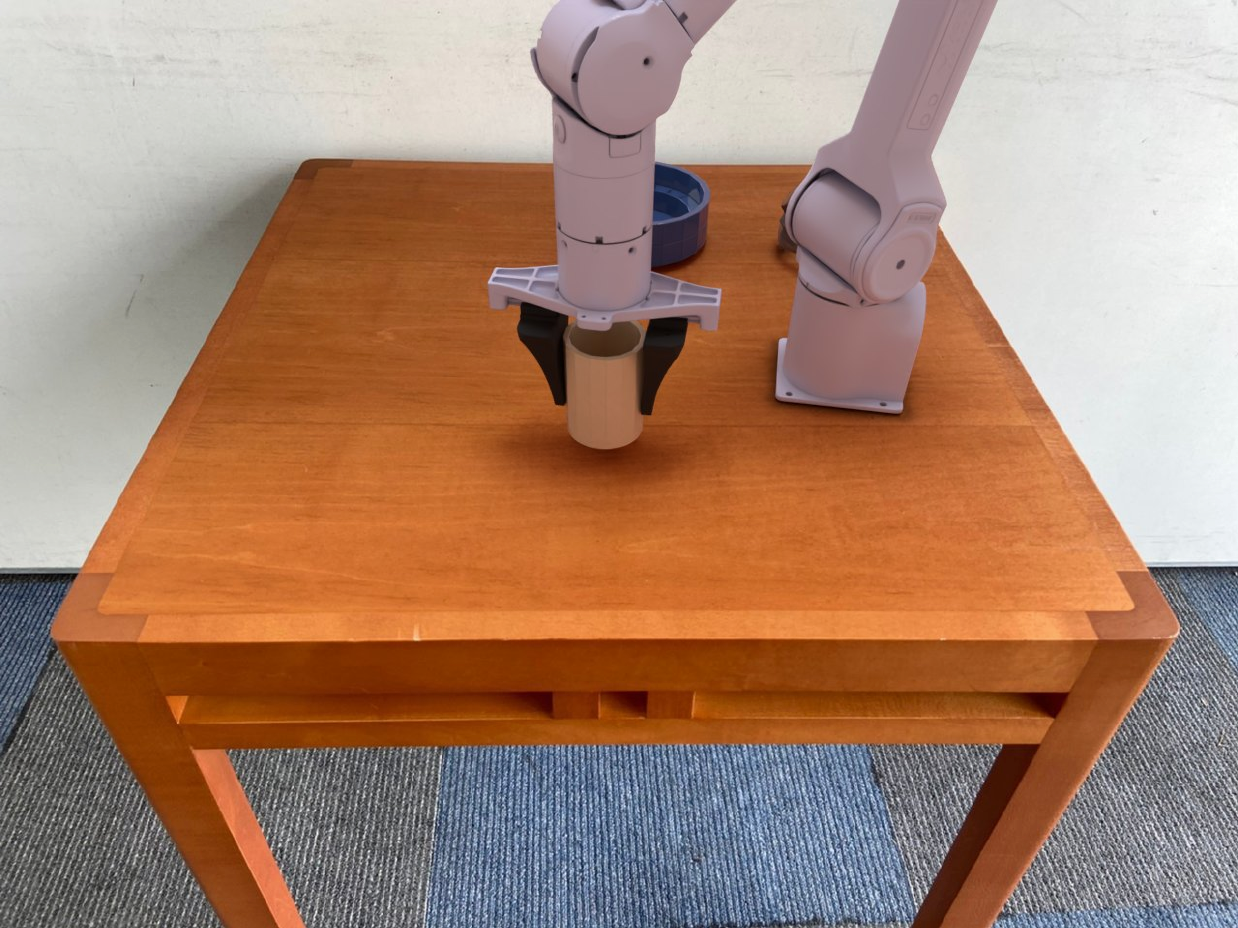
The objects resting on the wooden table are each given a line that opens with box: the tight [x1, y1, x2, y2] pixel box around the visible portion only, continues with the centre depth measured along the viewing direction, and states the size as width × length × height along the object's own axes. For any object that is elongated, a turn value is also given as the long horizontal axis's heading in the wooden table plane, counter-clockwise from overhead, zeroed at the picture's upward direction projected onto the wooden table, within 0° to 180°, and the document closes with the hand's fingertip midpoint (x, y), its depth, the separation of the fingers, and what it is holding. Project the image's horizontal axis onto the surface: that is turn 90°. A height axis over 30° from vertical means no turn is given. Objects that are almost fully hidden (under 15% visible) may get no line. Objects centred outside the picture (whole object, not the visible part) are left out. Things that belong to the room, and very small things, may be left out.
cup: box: [563, 318, 646, 450], centre depth 61 cm, size 5×5×8 cm
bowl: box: [651, 161, 712, 269], centre depth 85 cm, size 13×13×5 cm
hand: (604, 401), depth 62 cm, fingers closed on cup, 5 cm apart
